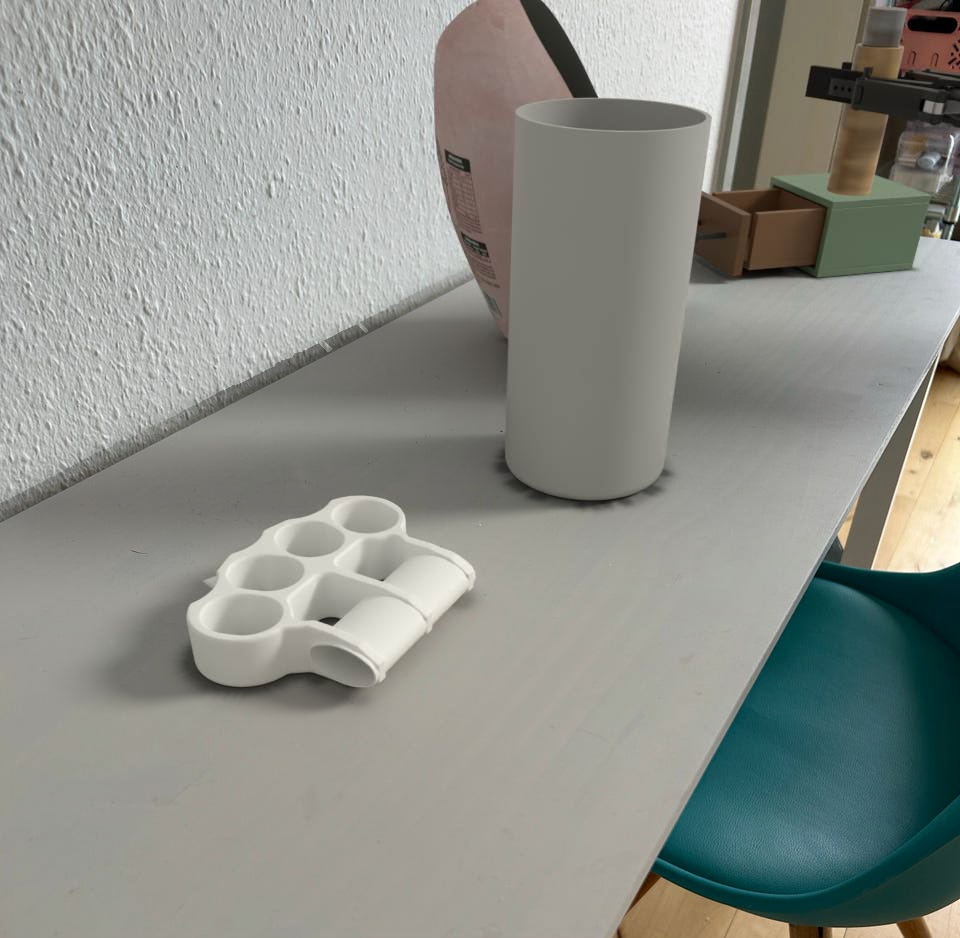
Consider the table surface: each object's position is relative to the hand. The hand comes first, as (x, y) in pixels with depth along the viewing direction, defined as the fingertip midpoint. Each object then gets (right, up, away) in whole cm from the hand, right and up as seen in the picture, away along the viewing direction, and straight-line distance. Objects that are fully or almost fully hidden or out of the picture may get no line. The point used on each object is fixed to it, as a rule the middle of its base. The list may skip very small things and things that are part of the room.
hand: (826, 79), depth 100 cm
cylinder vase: (-27, -43, -22) cm, 55 cm away
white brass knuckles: (-45, -55, -38) cm, 80 cm away
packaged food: (-29, -29, -2) cm, 41 cm away
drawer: (-4, -10, +22) cm, 24 cm away
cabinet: (+10, -8, +26) cm, 29 cm away
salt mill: (+3, -10, +2) cm, 11 cm away
